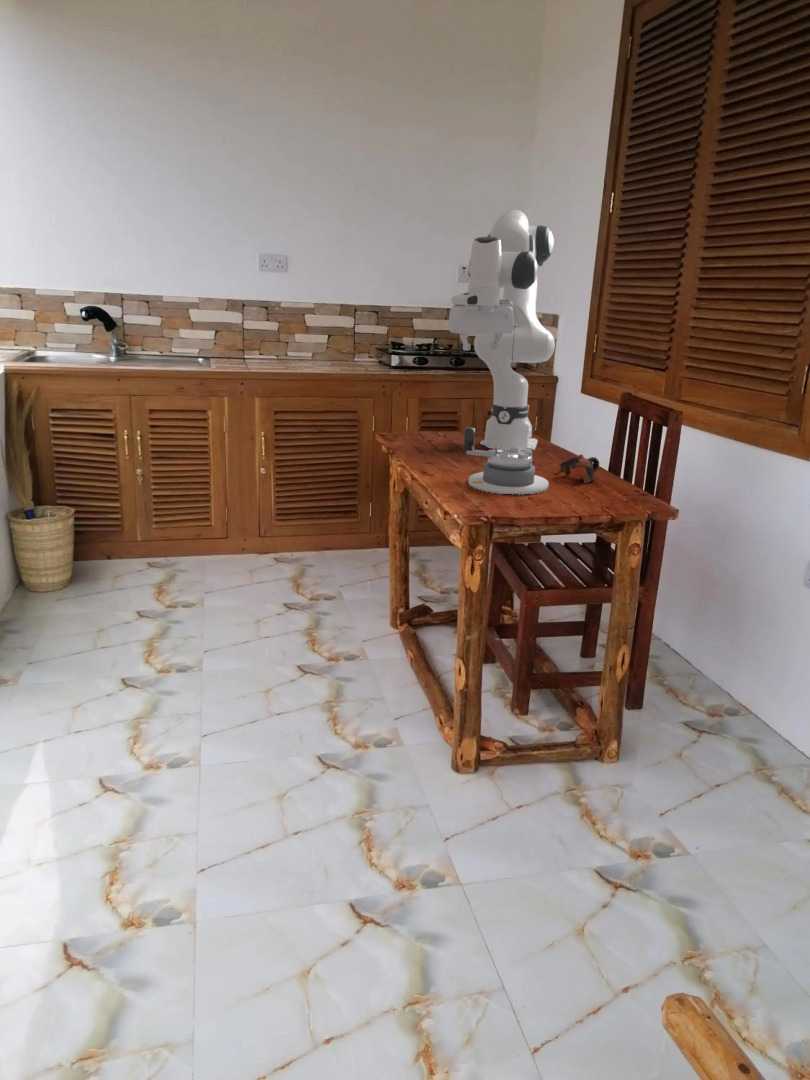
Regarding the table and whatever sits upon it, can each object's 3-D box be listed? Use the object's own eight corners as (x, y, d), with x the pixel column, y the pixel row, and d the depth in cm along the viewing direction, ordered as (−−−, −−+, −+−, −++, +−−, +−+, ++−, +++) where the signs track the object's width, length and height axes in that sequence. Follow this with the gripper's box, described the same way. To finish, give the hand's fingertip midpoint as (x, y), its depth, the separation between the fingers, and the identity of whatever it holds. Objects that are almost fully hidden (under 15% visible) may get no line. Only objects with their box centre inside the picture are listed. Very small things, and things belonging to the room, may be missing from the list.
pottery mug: (579, 487, 224) (567, 460, 224) (561, 493, 233) (549, 467, 232) (611, 472, 228) (599, 445, 228) (592, 479, 237) (581, 453, 237)
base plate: (483, 471, 236) (484, 454, 234) (556, 480, 228) (558, 462, 226) (456, 488, 217) (457, 469, 215) (536, 499, 208) (537, 479, 207)
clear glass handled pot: (470, 455, 231) (472, 424, 228) (536, 463, 223) (539, 431, 220) (455, 463, 220) (457, 431, 217) (524, 472, 213) (527, 438, 210)
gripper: (507, 299, 230) (503, 349, 234) (446, 297, 220) (444, 349, 224) (520, 300, 225) (516, 350, 229) (459, 298, 215) (456, 351, 219)
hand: (480, 350), depth 226 cm, fingers open, 8 cm apart
